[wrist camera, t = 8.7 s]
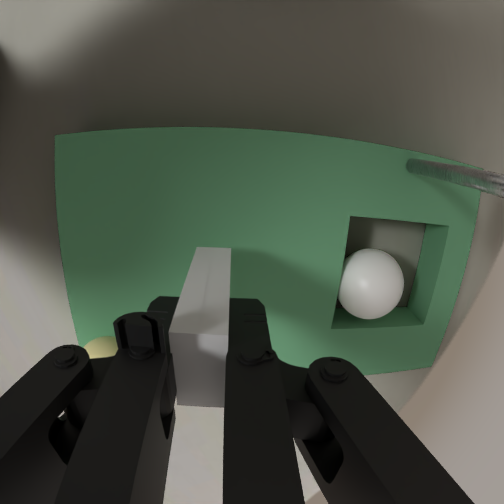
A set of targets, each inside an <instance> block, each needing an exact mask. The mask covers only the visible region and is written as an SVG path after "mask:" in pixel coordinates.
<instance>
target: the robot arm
mask: <svg viewBox="0 0 504 504" xmlns="http://www.w3.org/2000/svg"><path fill="white" fill-rule="evenodd" d="M230 269H231V248H216V247H197V248H196V251H195V254H194V257H193V260H192V262H191V265H190V268H189V271H188V274H187V277H186V280H185V283H184V286H183V289H182V292H181V295H180V297H171V296H159V297H157V298H156V299H154V300H153V301H152V302H151V303H150V305H149V307H148V309H147V312H132V313H128V314H124V315H122V316H120V317H118V318H117V319H116V320H115V321H114V322H113V327H114V332H115V337H116V342H117V346H118V350H117V352H116V354H115V355H114V356H110V357H103V358H92V359H90V357H89V354H88V352H87V351H86V349H84V348H82V347H81V346H77V345H63V346H60V347H57V348H55V349H53V350H52V351H50V352H49V353H48V354H47V355H46V356H44V357H43V358H42V359H41V360H40V361H39V362H38V363H37V364H36V365H34V366H33V367H32V368H31V369H30V370H29V371H28V372H27V373H26V374H25V375H24V376H23V377H21V378H20V379H19V380H18V381H17V382H16V383H15V384H14V385H13V386H12V387H11V388H10V389H9V390H8V391H7V392H6V393H4V394H3V395H2V396H1V397H0V504H163V499H164V491H165V484H166V477H167V470H168V463H169V456H170V450H171V443H172V437H173V431H174V425H175V419H176V418H175V410H174V403H175V398H177V405H186V406H202V407H224V446H223V504H305V501H304V496H303V490H302V485H301V479H300V473H299V468H298V462H297V457H296V451H295V446H294V440H295V443H296V445H297V446H298V448H299V450H300V452H301V454H302V456H303V458H304V460H305V462H306V463H307V465H308V467H309V469H310V471H311V473H312V475H313V476H314V478H315V480H316V482H317V484H318V486H319V487H320V489H321V491H322V493H323V495H324V496H325V498H326V500H327V502H328V504H474V503H473V502H472V500H471V499H470V498H469V497H468V496H467V495H466V493H465V492H464V491H463V490H462V489H461V488H460V486H459V485H458V484H457V483H456V482H455V481H454V480H453V478H452V477H451V476H450V475H449V474H448V473H447V471H446V470H445V469H444V468H443V467H442V466H441V464H440V463H439V462H438V461H437V460H436V459H435V457H434V456H433V455H432V454H431V453H430V452H429V450H428V449H427V448H426V447H425V446H424V445H423V443H422V442H421V441H420V440H419V439H418V438H417V436H416V435H415V434H414V433H413V432H412V431H411V430H410V428H409V427H408V426H407V425H406V424H405V423H404V422H403V420H402V419H401V418H400V417H399V416H398V414H397V413H396V412H395V411H394V410H393V409H392V408H391V406H390V405H389V404H388V403H387V402H386V401H385V399H384V398H383V397H382V396H381V395H380V394H379V393H378V391H377V390H376V389H375V388H374V387H373V386H372V384H371V383H370V382H369V381H368V380H367V379H366V378H365V376H364V375H363V374H362V373H361V372H360V371H359V369H358V368H357V367H356V366H355V365H353V364H352V363H351V362H349V361H347V360H345V359H342V358H338V357H322V358H319V359H316V360H314V361H313V362H312V363H311V364H310V365H309V368H304V367H299V366H294V365H291V364H288V363H286V362H283V361H282V360H280V359H279V358H278V356H277V354H276V352H275V351H274V350H273V349H272V346H271V340H270V334H269V328H268V323H267V317H266V311H265V306H264V305H263V304H262V303H261V302H260V301H259V300H258V299H251V298H230ZM63 410H64V412H65V413H64V414H63V415H62V416H61V417H59V418H58V416H59V415H60V414H61V413H62V412H63ZM293 438H294V440H293Z"/></svg>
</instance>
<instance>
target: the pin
mask: <svg viewBox="0 0 504 504" xmlns="http://www.w3.org/2000/svg"><path fill="white" fill-rule="evenodd" d="M406 168H407V171H408V172H409V173H411V174H416V175H420V176H425V177H429V178H433V179H437V180H441V181H446V182H449V183H453V184H457V185H461V186H465V187H468V188H472V189H475V190H479V191H482V192H486V193H489V194H493V195H496V196H499V197H502V198H504V174H499V173H495V172H490V171H485V170H480V169H475V168H470V167H464V166H459V165H453V164H447V163H441V162H434V161H427V160H420V159H413V158H411V159H409V160H408V161H407V163H406Z"/></svg>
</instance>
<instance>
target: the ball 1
mask: <svg viewBox="0 0 504 504" xmlns="http://www.w3.org/2000/svg"><path fill="white" fill-rule="evenodd" d="M84 349H86V351H87V352H88V354H89V357H90V359H92V358H103V357H110V356H114V355H115V354H116V352H117V350H118V346H117V342H116V337H114V336H102V337H98V338H95V339H93V340H91V341H90V342H89V343H87V344H86V345H85V346H84Z"/></svg>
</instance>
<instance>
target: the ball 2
mask: <svg viewBox="0 0 504 504" xmlns="http://www.w3.org/2000/svg"><path fill="white" fill-rule="evenodd" d="M403 288H404V278H403V274H402V270H401V268H400V266H399V264H398V263H397V261H396V260H395V259H394V258H393V257H392V256H391V255H389V254H388V253H386V252H384V251H382V250H378V249H372V248H369V249H362V250H359V251H356V252H354V253H352V254H351V255H350V256H348V257H347V258H346V259H345V260H344V261H343V267H342V273H341V279H340V285H339V290H338V295H337V297H338V299H339V301H340V303H341V305H342V306H343V307H344V308H345V309H346V310H347V311H348V312H349V313H350V314H352V315H354V316H356V317H358V318H362V319H376V318H380V317H382V316H384V315H386V314H388V313H389V312H390V311H392V310H393V309H394V308H395V306H396V305H397V304H398V302H399V300H400V299H401V296H402V293H403Z"/></svg>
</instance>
